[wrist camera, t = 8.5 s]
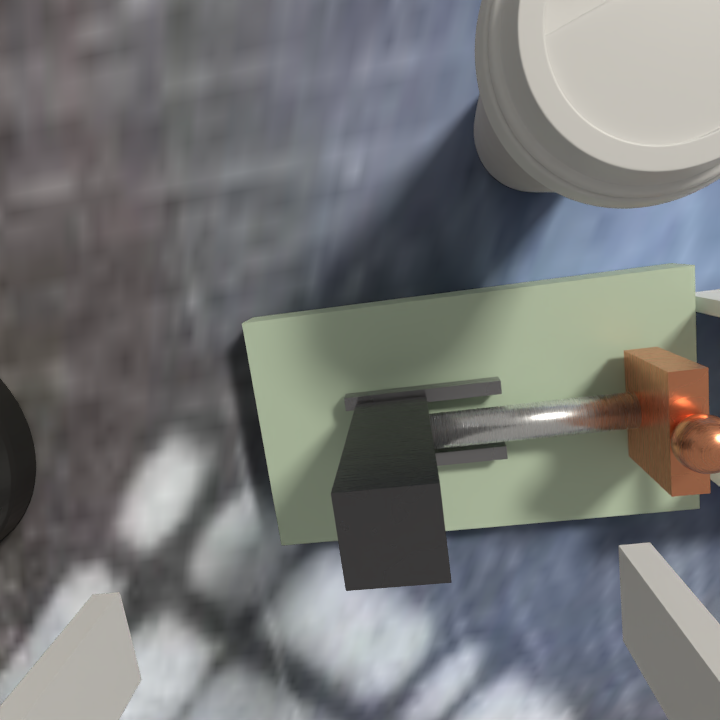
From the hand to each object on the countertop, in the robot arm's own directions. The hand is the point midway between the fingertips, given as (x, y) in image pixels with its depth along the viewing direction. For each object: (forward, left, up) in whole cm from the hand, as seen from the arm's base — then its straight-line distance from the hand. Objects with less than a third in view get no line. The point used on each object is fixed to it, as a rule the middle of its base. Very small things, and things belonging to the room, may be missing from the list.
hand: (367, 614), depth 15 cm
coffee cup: (+10, +14, -19) cm, 25 cm away
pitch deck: (+5, 0, -19) cm, 19 cm away
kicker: (+7, 0, -16) cm, 17 cm away
